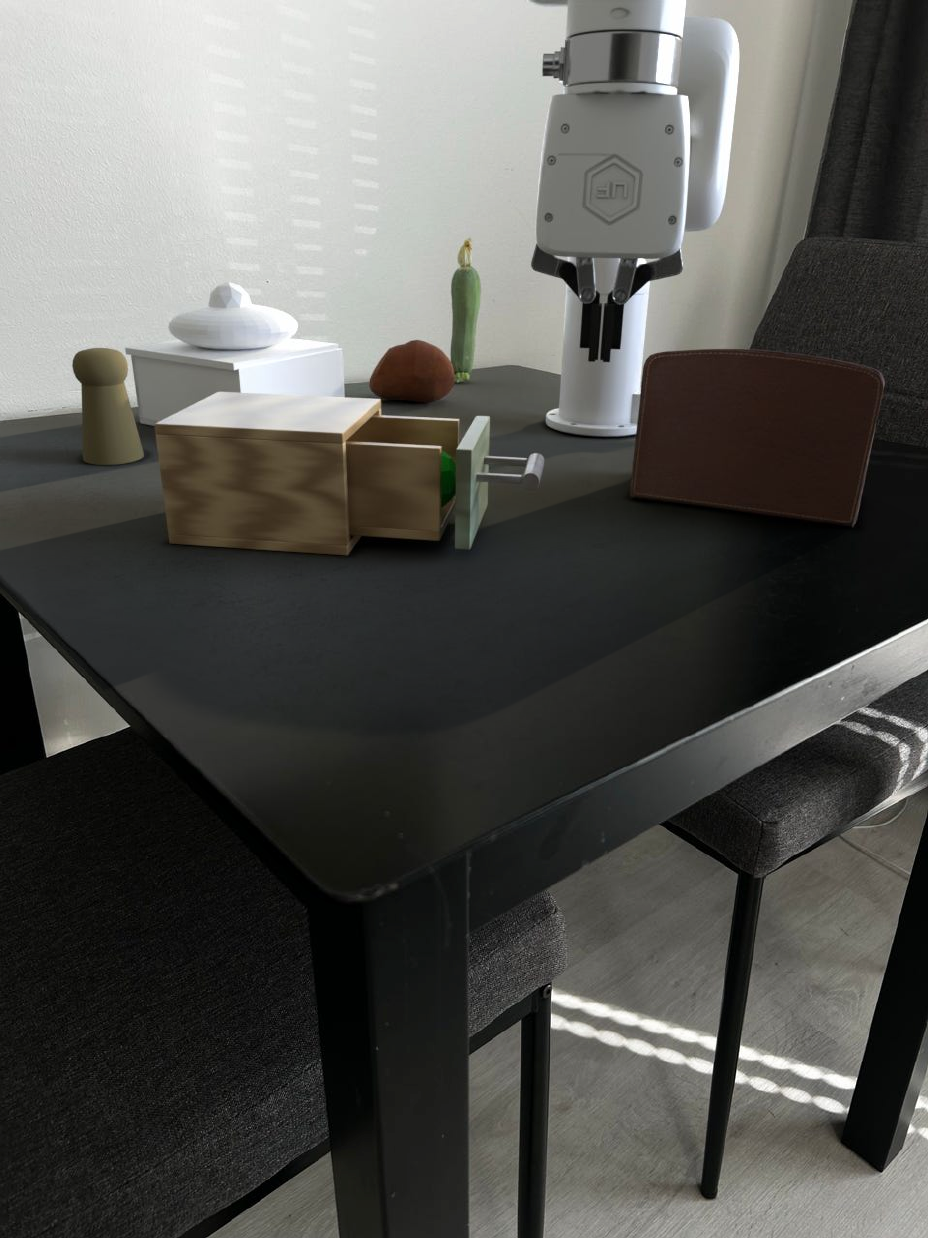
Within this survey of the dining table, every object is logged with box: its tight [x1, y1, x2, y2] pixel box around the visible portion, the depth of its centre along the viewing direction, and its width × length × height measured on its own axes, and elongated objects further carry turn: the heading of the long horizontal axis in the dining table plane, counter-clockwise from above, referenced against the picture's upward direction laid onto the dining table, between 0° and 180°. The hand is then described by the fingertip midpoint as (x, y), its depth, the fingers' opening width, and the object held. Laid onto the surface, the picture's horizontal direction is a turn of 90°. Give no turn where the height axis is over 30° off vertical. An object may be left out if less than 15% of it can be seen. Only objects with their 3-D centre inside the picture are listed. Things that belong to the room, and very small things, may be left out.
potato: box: [368, 339, 455, 403], centre depth 122 cm, size 8×12×8 cm, turn 88°
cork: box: [71, 347, 145, 466], centre depth 93 cm, size 6×6×11 cm
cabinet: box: [153, 392, 382, 556], centre depth 75 cm, size 15×13×10 cm
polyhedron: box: [441, 451, 456, 507], centre depth 72 cm, size 5×5×5 cm
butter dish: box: [124, 281, 346, 427], centre depth 109 cm, size 18×18×16 cm
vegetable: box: [449, 237, 482, 383], centre depth 133 cm, size 4×4×20 cm
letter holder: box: [629, 348, 885, 528], centre depth 83 cm, size 10×20×14 cm, turn 68°
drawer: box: [345, 414, 545, 550], centre depth 74 cm, size 18×11×8 cm, turn 82°
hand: (599, 358), depth 68 cm, fingers closed
